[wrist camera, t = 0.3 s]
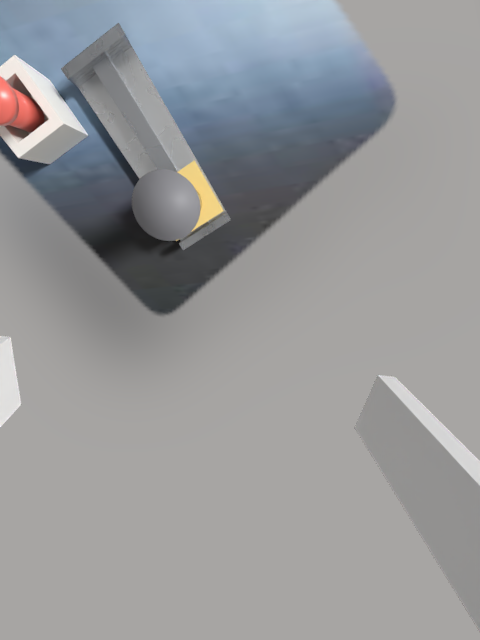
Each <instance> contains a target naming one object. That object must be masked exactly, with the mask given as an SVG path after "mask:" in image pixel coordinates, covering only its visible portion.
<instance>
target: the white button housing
mask: <svg viewBox="0 0 480 640" xmlns="http://www.w3.org/2000/svg"><path fill="white" fill-rule="evenodd" d="M0 76H1V77H2V78H4V79H5V80H6V81H7V82H8V83H9V84H10V85H11V87H12V88H14V89H16V90H17V91H19V92H21V93H23V94H25V95H27V96H29V97H30V98H32V99H34V100H35V101H36V102H37V103H38V105H39V106H40V107H41V109H42V111H43V113H44V119H45V120H44V123H43V124H42V125H41V126H40V127H38V128H37V129H36V130H34V131H33V132H27V131H24V130H22V129H19V128H16V127H13V126H10V125H7V126H0V136H1V137H2V138H3V140H4V141H5V142H6V143H7V145H8V146H9V147H10V148H11V149H12V151H13V152H14V153H15V154H16V156H17V157H18V158H20V159H25V160H30V161H35V162H40V163H45V164H51V163H52V162H54V161H55V160H56V159H58V158H59V157H60V156H62V155H63V154H64V153H66V152H67V151H68V150H70V149H71V148H73V147H74V146H75V145H77V144H78V143H79V142H81V141H82V140H83V139H85V138H86V137H87V136H88V134H87V133H86V131H85V130H84V128H83V127H82V126H81V124H80V123H79V121H78V120H77V118H76V117H75V116H74V114H73V113H72V111H71V110H70V108H69V107H68V106H67V104H66V103H65V101H64V100H63V98H62V97H61V96H60V94H59V93H58V91H57V90H56V88H55V87H54V85H53V84H52V83H51V81H50V80H49V79H48V78H46V77H45V76H43V75H42V74H41V73H39V72H38V71H36V70H35V69H34V68H32V67H31V66H30V65H28V64H27V63H25V62H24V61H23V60H21V59H20V58H18V57H17V56H16V55H14V56H12V57H11V58H10V59H9V60H8V61H6V62H5V63H4V64H3V65H2V66H0Z"/></svg>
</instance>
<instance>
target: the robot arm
mask: <svg viewBox="0 0 480 640" xmlns="http://www.w3.org/2000/svg"><path fill="white" fill-rule="evenodd" d="M20 405H21V400H20V393H19V388H18V381H17V375H16V368H15V362H14V356H13V350H12V344H11V337H6V336H0V427H1V426H2V425H3V424H4V423H5V421H6V420H7V419H8V418H9V417H10V416H11V415H12V414H13V413H14V412H15V411H16V409H17V408H18V407H19V406H20ZM355 430H356V431H357V433H358V434H359V436H360V438H361V439H362V441H363V442H364V444H365V446H366V447H367V449H368V451H369V452H370V454H371V456H372V457H373V459H374V461H375V462H376V464H377V465H378V467H379V469H380V470H381V472H382V474H383V475H384V477H385V478H386V480H387V482H388V483H389V485H390V486H391V488H392V490H393V491H394V493H395V495H396V496H397V498H398V500H399V501H400V503H401V504H402V506H403V507H404V509H405V511H406V513H407V514H408V516H409V517H410V519H411V521H412V522H413V524H414V526H415V527H416V529H417V531H418V532H419V534H420V535H421V537H422V539H423V540H424V542H425V544H426V545H427V547H428V549H429V550H430V552H431V553H432V555H433V557H434V558H435V560H436V561H437V563H438V565H439V566H440V568H441V570H442V571H443V573H444V574H445V576H446V578H447V580H448V581H449V583H450V584H451V586H452V588H453V589H454V591H455V592H456V594H457V596H458V597H459V599H460V601H461V602H462V604H463V606H464V607H465V609H466V610H467V612H468V614H469V615H470V617H471V619H472V620H473V622H474V624H475V625H476V627H477V628H478V630H479V632H480V461H479V460H478V459H477V458H476V457H475V456H474V455H473V454H472V453H471V452H470V451H469V450H468V449H467V448H466V447H465V446H464V445H463V444H462V443H461V442H460V441H459V440H458V439H457V438H456V437H455V436H454V435H453V434H452V433H451V432H450V431H449V430H448V429H447V428H446V427H445V426H444V425H443V424H442V423H441V422H440V421H439V420H438V419H437V418H436V417H435V416H434V415H432V413H431V412H430V411H429V410H428V409H427V408H426V407H425V406H424V405H423V404H422V403H421V402H420V401H419V400H418V399H416V397H415V396H414V395H413V394H412V393H411V392H410V391H409V390H408V389H407V388H406V387H405V386H404V385H403V384H402V383H401V382H399V380H398V379H396V378H395V377H390V376H381V375H378V376H377V378H376V380H375V383H374V385H373V387H372V389H371V392H370V394H369V396H368V398H367V401H366V403H365V405H364V407H363V410H362V412H361V414H360V416H359V419H358V421H357V423H356V425H355Z"/></svg>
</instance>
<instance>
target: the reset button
mask: <svg viewBox="0 0 480 640" xmlns="http://www.w3.org/2000/svg"><path fill="white" fill-rule="evenodd" d="M44 120H45V119H44V113H43V111H42V109H41V107H40V106H39V105H38V103H37V102H36V101H35V100H34V99H32V98H30V97H29V96H27V95H25V94H23V93H21V92H19V91H17V90H16V89H14V88H12V87H11V85H10V84H9V83H8V82H7V81H6V80H5V79H4V78H2V77H1V76H0V126H7V125H10V126H13V127H16V128H19V129H22V130H24V131H27V132H33V131H34V130H36V129H37V128H38V127H40V126H41V125H42V124H43V123H44Z"/></svg>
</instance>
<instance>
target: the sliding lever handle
mask: <svg viewBox="0 0 480 640" xmlns="http://www.w3.org/2000/svg"><path fill="white" fill-rule="evenodd" d="M132 209H133V213H134V216H135V218H136V220H137V222H138V223H139V225H140V226H141V227H142V229H143V230H144V231H146V232H147V233H148V234H149V235H151V236H153V237H155V238H157V239H160V240H164V241H175V240H176V241H178V240H179V239H181V238H183V237H185V236H187V235H188V234H189V233H190V232H192V231H193V230H195V229H196V228H198V227H200V226H201V225H203V224H204V223H206V222H207V221H209V220H210V219H212V218H213V217H215V216H217V215H218V214H220V213H221V212H223V211H224V210H223V209H222V207H221V205H220V203H219V202H218V200H217V198H216V196H215V195H214V193H213V191H212V189H211V188H210V186H209V184H208V182H207V181H206V179H205V177H204V175H203V174H202V172H201V170H200V168H199V167H198V165H197V163H196V161H195V160H194V161H193V162H191V163H190V164H188V165H187V166H185V167H184V168H182V169H181V170H179V171H178V172H175V171H172V170H168V169H157V170H153V171H150V172H148V173H147V174H145V175H144V176H142V177H141V178H140V180H139V181H138V182H137V184H136V186H135V188H134V190H133V194H132Z"/></svg>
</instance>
